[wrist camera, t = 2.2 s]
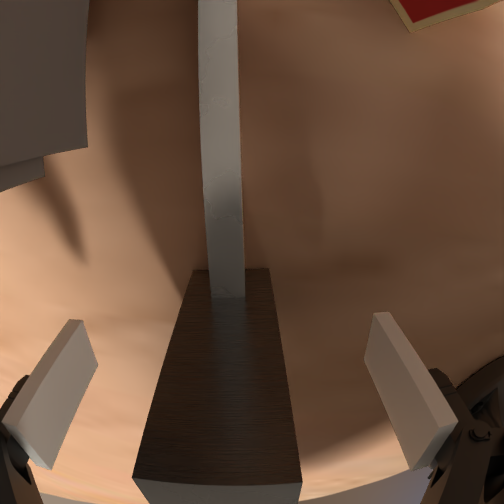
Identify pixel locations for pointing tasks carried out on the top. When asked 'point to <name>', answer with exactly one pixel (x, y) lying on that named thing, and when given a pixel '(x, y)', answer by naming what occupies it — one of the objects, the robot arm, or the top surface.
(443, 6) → the milk carton
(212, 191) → the grey l-shaped bracket
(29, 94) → the cabinet
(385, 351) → the robot arm
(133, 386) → the top surface
